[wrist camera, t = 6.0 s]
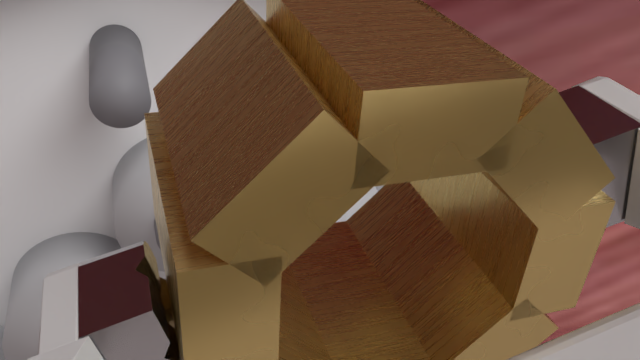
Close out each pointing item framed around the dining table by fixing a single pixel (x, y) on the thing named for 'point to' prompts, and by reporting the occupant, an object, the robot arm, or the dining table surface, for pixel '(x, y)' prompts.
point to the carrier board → (82, 137)
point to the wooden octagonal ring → (366, 189)
